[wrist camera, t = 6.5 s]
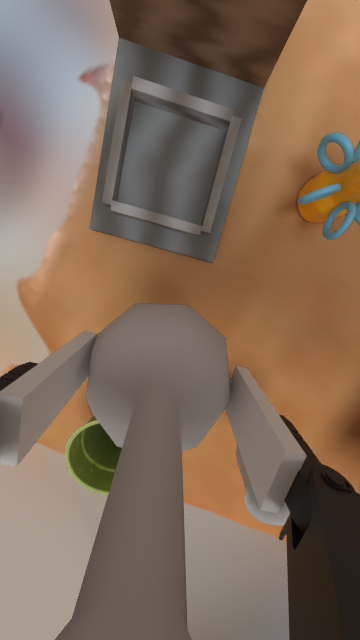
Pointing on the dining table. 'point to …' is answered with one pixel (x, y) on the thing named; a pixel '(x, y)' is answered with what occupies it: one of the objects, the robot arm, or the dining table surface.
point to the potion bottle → (147, 467)
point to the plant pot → (92, 457)
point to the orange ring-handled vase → (333, 188)
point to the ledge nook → (183, 115)
